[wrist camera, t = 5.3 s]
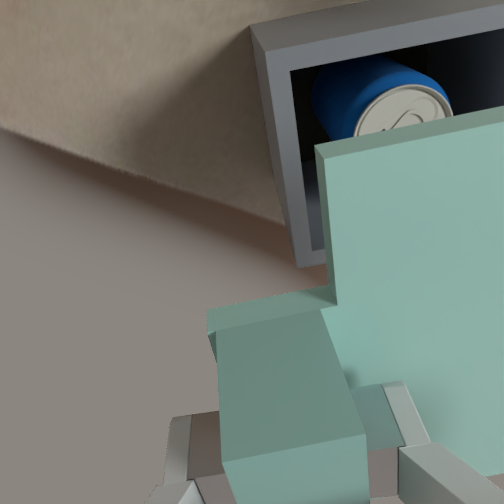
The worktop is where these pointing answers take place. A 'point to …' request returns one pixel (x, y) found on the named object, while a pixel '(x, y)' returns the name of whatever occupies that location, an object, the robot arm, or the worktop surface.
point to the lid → (376, 317)
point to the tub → (357, 45)
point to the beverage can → (374, 97)
